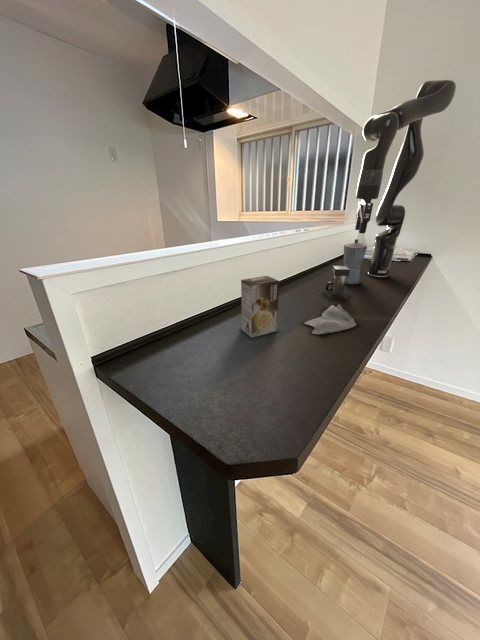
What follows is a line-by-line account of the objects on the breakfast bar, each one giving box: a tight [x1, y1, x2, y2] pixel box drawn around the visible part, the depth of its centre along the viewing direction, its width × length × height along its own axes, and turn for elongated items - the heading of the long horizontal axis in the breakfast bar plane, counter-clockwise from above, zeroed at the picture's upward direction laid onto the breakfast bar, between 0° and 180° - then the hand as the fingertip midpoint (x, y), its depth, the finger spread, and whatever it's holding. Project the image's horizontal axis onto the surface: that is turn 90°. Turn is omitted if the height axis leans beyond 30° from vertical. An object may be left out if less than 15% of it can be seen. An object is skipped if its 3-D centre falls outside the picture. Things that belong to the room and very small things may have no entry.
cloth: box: [303, 303, 357, 336], centre depth 86 cm, size 26×14×2 cm, turn 139°
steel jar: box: [325, 265, 350, 297], centre depth 105 cm, size 7×5×11 cm
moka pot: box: [343, 238, 368, 285], centre depth 120 cm, size 10×15×20 cm, turn 158°
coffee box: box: [240, 275, 280, 339], centre depth 77 cm, size 9×6×16 cm
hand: (359, 231), depth 101 cm, fingers open, 8 cm apart
